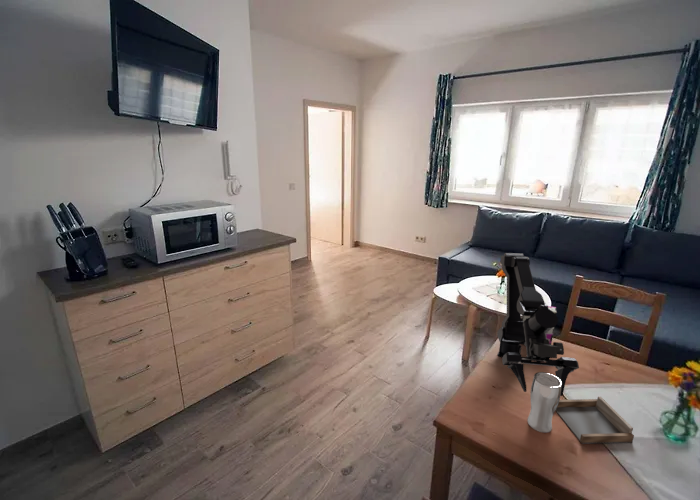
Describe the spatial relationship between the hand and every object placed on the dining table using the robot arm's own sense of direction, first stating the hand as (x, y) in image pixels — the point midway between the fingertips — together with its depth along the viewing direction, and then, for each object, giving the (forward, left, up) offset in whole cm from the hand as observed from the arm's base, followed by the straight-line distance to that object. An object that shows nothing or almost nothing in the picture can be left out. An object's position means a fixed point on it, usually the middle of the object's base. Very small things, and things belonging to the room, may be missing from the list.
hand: (543, 393), depth 94 cm
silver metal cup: (+1, -1, -10) cm, 10 cm away
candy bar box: (-9, +43, -10) cm, 45 cm away
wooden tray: (+12, +8, -9) cm, 17 cm away
